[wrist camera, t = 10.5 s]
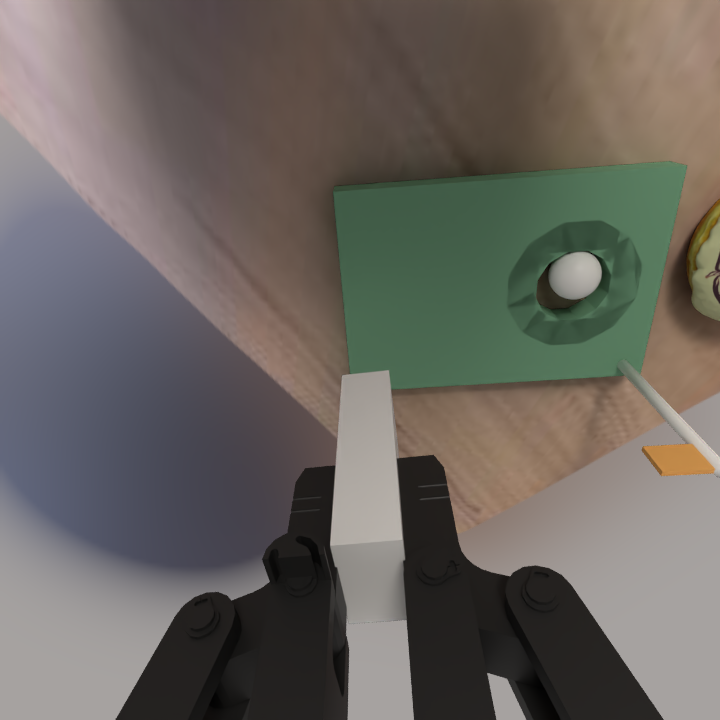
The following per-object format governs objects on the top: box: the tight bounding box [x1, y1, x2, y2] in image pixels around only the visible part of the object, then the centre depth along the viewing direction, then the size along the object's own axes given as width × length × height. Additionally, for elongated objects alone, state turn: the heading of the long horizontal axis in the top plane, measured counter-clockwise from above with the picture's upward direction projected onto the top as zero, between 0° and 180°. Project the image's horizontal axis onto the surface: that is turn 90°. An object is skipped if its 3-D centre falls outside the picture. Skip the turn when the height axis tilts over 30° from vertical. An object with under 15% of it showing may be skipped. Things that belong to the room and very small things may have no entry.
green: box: [333, 161, 720, 478], centre depth 31 cm, size 15×22×14 cm
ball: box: [548, 251, 602, 299], centre depth 35 cm, size 3×3×3 cm
